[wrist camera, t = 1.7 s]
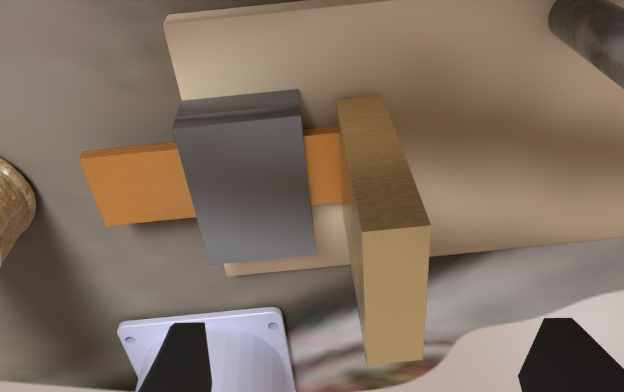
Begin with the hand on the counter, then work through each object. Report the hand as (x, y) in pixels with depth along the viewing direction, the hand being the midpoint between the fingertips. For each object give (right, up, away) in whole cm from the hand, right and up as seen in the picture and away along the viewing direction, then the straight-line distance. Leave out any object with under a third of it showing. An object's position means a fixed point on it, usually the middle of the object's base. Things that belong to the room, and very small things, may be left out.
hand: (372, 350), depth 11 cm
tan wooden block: (-4, +4, +8) cm, 10 cm away
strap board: (+4, +6, +9) cm, 12 cm away
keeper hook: (+7, +9, +6) cm, 13 cm away
